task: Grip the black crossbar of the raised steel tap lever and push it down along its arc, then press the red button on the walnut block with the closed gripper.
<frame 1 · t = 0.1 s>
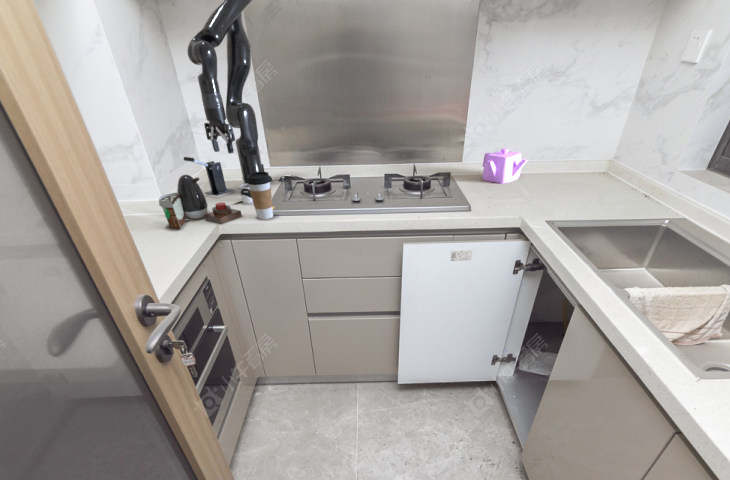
hand: (224, 152, 174), 17 cm above the counter, tool pointing down, fingers open, 8 cm apart
teakettle: (501, 180, 190), on the counter
button block: (223, 218, 160), on the counter
tap lever: (202, 163, 177), point 13 cm above the counter, hinge at 25.0°
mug: (254, 202, 176), on the counter
tap bracket: (220, 194, 188), on the counter
coffee cup: (265, 217, 160), on the counter
button: (220, 206, 157), point 4 cm above the counter, slide at 0.1 cm
food container: (175, 225, 156), on the counter, touching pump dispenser
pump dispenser: (197, 217, 163), on the counter, touching food container
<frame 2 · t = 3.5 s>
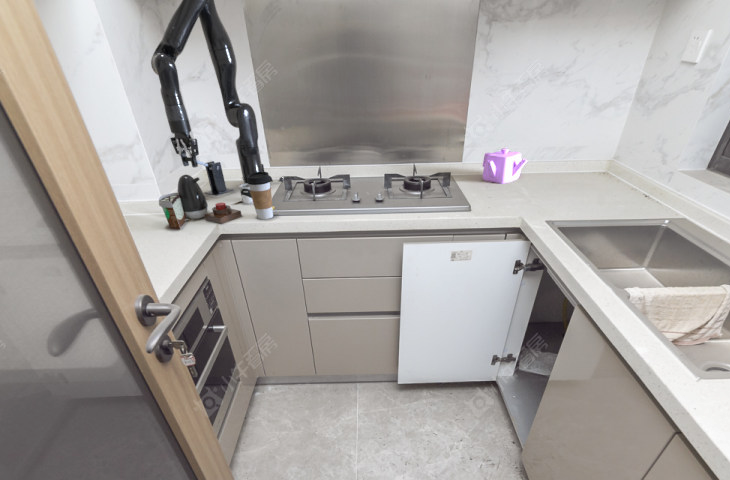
hand: (190, 166, 173), 13 cm above the counter, tool pointing down, fingers closed on tap lever, 5 cm apart
tap lever: (202, 163, 177), point 13 cm above the counter, hinge at 24.9°, touching gripper
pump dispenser: (197, 217, 163), on the counter, touching food container
everything else where it was.
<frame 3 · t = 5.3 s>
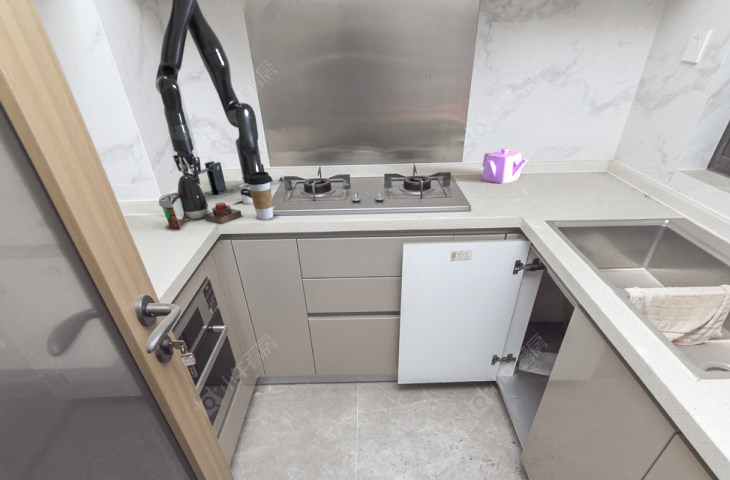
hand: (192, 183, 176), 7 cm above the counter, tool pointing down, fingers closed on tap lever, 5 cm apart
tap lever: (203, 171, 178), point 11 cm above the counter, hinge at -4.2°, touching gripper
everything else where it was.
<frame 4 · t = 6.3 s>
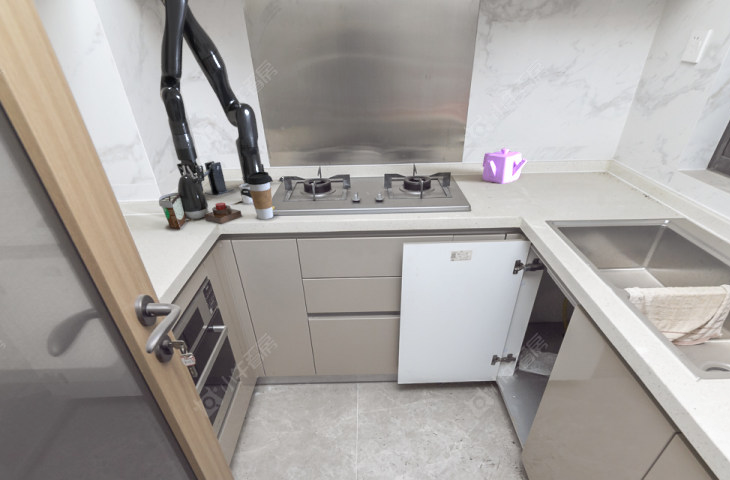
hand: (196, 191, 178), 4 cm above the counter, tool pointing down, fingers closed on tap lever, 5 cm apart
tap lever: (204, 174, 179), point 9 cm above the counter, hinge at -19.3°, touching gripper
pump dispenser: (197, 217, 163), on the counter, touching food container
everything else where it was.
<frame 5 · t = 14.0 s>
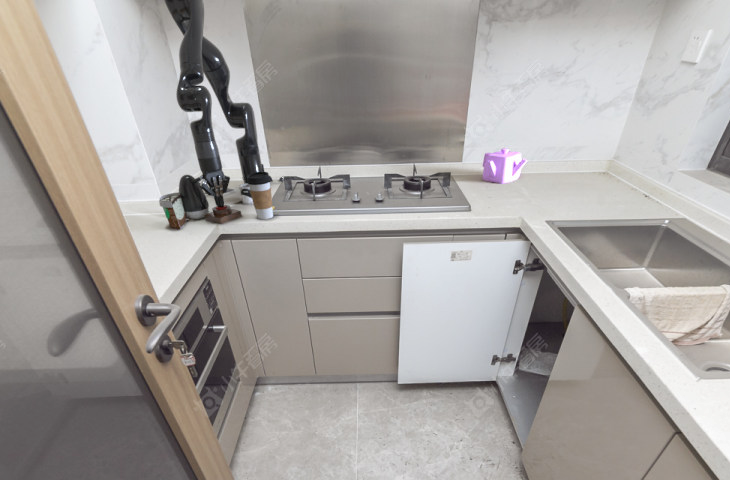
hand: (220, 206, 157), 4 cm above the counter, tool pointing down, fingers closed
tap lever: (204, 174, 179), point 9 cm above the counter, hinge at -19.6°
button: (221, 208, 158), point 4 cm above the counter, slide at -0.8 cm, touching gripper
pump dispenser: (198, 217, 163), on the counter, touching food container
everything else where it was.
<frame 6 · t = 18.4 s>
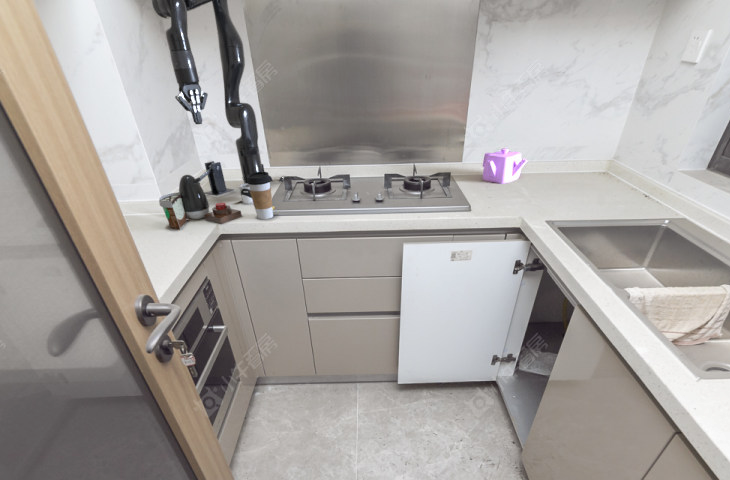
hand: (198, 124, 158), 29 cm above the counter, tool pointing down, fingers closed
button: (220, 206, 157), point 4 cm above the counter, slide at 0.1 cm
everything else where it was.
at the end: tap lever at -20° (first picture: +25°); button pushed in 1.1 cm at the most during the clip, back to where it started at the end; button slide at 0.1 cm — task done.
